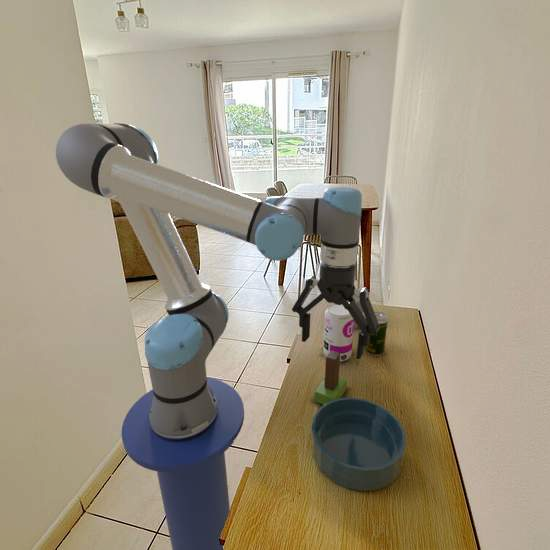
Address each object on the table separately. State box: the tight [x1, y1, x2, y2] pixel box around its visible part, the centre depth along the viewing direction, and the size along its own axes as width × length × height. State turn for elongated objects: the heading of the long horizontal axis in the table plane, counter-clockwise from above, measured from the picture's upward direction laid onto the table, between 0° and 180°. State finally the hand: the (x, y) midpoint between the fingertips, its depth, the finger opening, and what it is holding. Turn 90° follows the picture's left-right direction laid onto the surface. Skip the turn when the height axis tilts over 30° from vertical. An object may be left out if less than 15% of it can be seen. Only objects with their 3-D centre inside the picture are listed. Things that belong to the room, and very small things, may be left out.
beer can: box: [364, 311, 389, 357], centre depth 103 cm, size 5×5×12 cm
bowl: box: [310, 397, 407, 492], centre depth 72 cm, size 18×18×6 cm
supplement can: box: [322, 303, 355, 363], centre depth 102 cm, size 8×8×15 cm
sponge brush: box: [314, 350, 348, 406], centre depth 86 cm, size 8×5×12 cm, turn 149°
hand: (331, 347), depth 83 cm, fingers open, 13 cm apart
